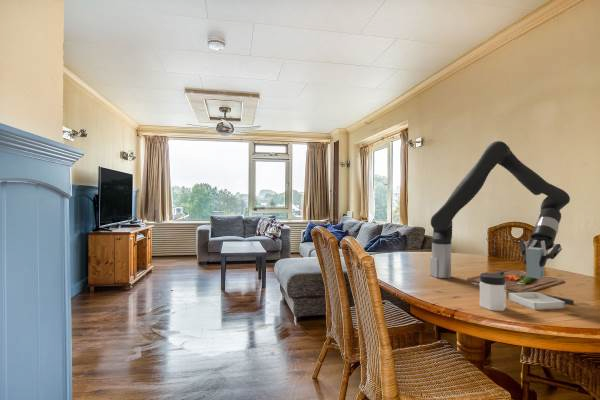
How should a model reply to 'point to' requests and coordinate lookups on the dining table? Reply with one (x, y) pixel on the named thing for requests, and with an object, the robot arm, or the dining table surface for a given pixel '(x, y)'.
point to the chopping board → (521, 281)
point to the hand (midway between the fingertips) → (533, 264)
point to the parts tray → (536, 300)
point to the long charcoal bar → (562, 299)
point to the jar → (492, 291)
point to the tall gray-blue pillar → (534, 263)
